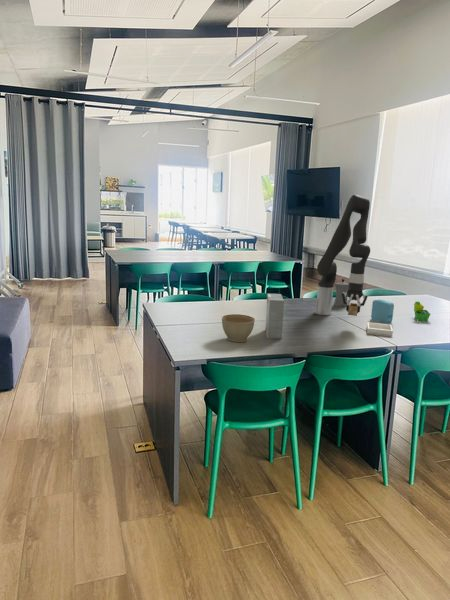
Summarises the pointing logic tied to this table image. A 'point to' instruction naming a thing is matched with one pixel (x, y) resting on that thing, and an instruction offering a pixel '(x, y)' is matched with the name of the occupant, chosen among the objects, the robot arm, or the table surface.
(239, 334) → the planter bowl
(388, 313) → the blue rounded block
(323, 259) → the robot arm
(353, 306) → the small crate
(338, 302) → the coffeepot
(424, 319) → the fruit basket
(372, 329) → the large crate
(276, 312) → the hard drive box
